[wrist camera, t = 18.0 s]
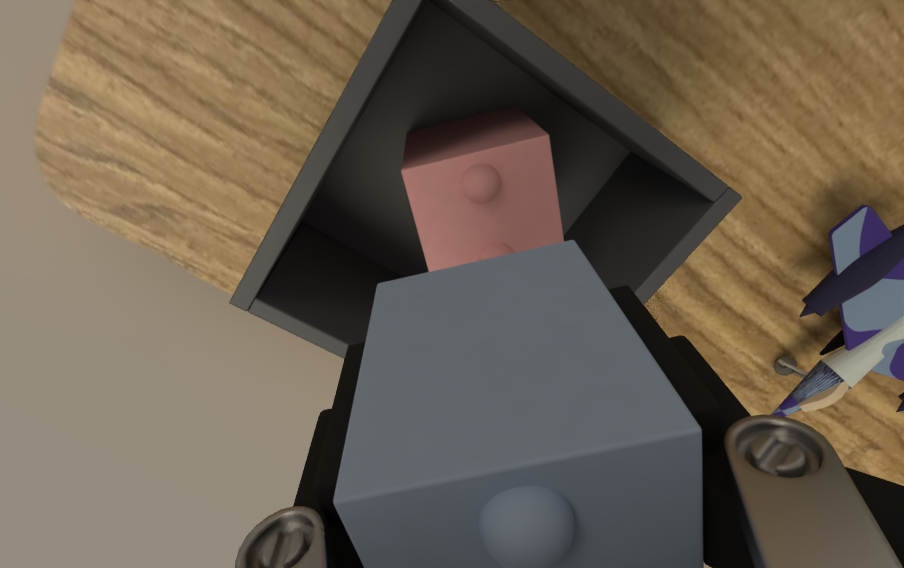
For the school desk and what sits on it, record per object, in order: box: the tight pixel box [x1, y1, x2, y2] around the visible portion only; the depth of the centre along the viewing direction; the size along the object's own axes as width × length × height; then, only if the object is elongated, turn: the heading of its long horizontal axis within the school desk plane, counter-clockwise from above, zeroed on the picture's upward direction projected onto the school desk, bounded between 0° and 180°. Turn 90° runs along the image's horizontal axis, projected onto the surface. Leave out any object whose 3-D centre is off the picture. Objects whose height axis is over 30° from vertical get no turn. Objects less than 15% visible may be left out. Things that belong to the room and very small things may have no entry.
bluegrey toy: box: [333, 240, 703, 568], centre depth 10 cm, size 4×4×7 cm
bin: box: [230, 0, 742, 359], centre depth 19 cm, size 11×11×8 cm
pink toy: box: [401, 106, 564, 272], centre depth 19 cm, size 4×4×7 cm
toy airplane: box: [770, 205, 904, 417], centre depth 25 cm, size 13×14×4 cm
